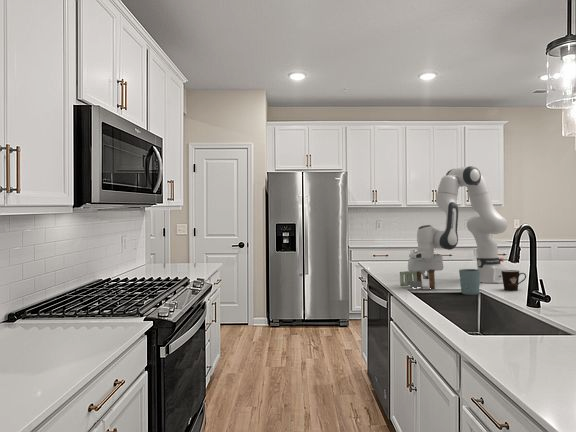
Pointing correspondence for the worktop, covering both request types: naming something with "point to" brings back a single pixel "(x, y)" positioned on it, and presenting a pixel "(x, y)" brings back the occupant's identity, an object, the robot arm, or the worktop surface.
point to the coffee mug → (511, 279)
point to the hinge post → (419, 276)
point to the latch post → (431, 278)
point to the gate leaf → (407, 278)
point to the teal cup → (469, 281)
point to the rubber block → (416, 284)
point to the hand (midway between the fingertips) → (426, 279)
